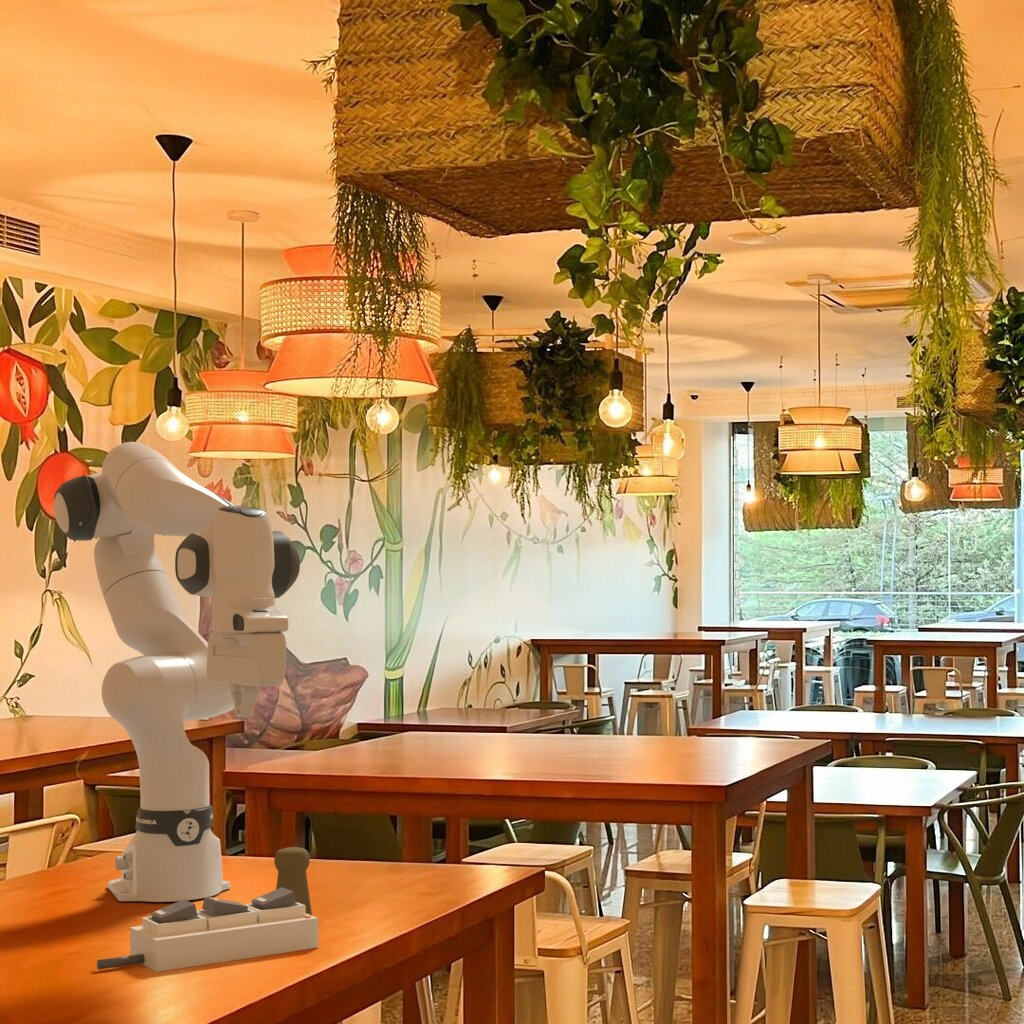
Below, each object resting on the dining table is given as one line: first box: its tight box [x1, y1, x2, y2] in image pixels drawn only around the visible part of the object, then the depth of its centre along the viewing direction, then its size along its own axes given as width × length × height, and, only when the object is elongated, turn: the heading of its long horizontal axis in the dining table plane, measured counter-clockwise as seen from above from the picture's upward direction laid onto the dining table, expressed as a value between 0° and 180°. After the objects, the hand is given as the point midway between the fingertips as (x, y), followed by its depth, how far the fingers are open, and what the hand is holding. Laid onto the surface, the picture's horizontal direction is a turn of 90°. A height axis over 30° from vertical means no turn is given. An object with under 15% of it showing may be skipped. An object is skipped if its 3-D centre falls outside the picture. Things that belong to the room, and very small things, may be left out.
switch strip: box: [96, 902, 319, 973], centre depth 208 cm, size 10×29×6 cm, turn 123°
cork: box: [273, 846, 313, 916], centre depth 228 cm, size 6×6×11 cm
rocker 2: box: [201, 896, 248, 915], centre depth 210 cm, size 4×5×2 cm
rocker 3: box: [251, 887, 297, 910], centre depth 213 cm, size 4×5×2 cm
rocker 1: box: [150, 900, 198, 924], centre depth 206 cm, size 4×5×2 cm
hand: (244, 716), depth 219 cm, fingers closed
